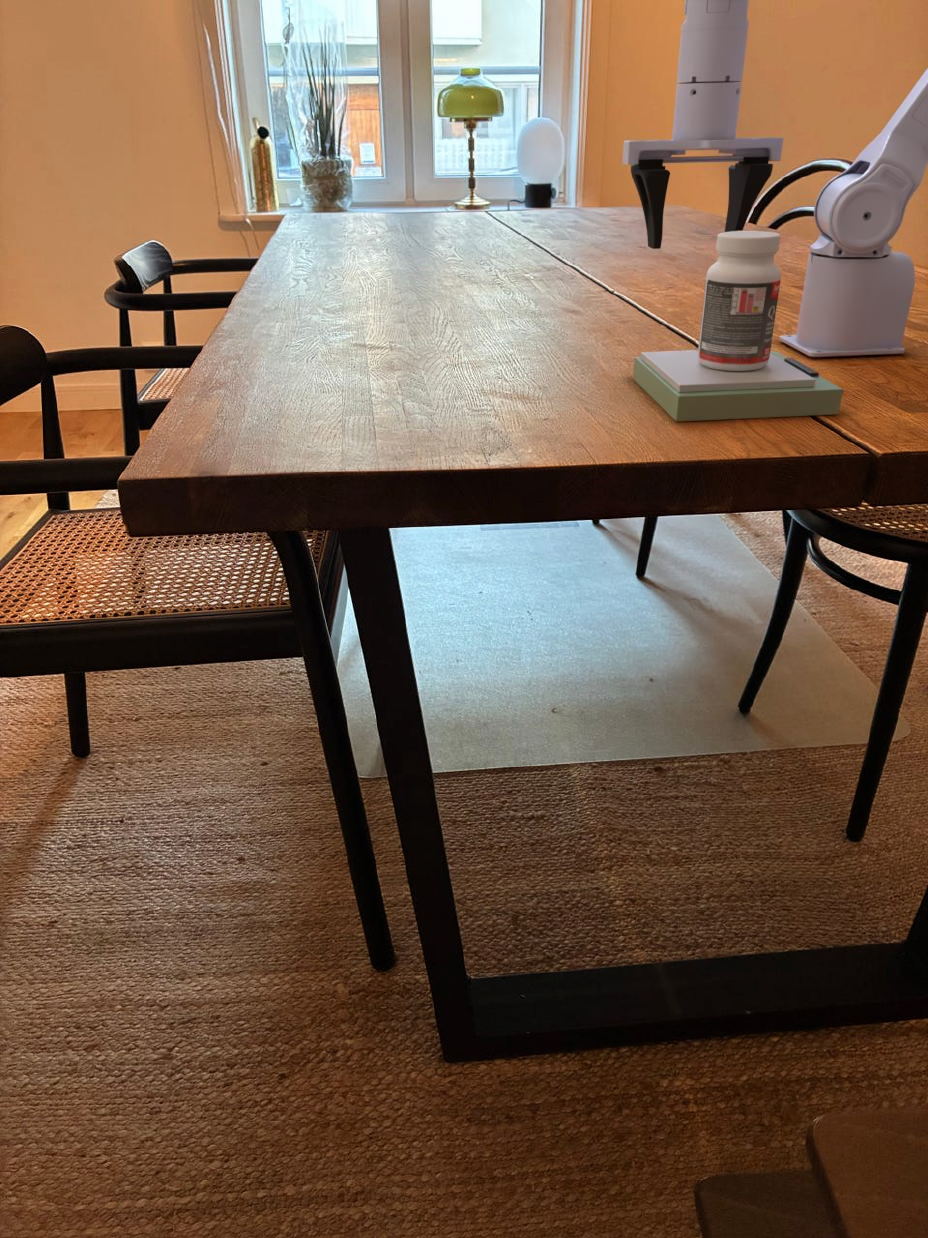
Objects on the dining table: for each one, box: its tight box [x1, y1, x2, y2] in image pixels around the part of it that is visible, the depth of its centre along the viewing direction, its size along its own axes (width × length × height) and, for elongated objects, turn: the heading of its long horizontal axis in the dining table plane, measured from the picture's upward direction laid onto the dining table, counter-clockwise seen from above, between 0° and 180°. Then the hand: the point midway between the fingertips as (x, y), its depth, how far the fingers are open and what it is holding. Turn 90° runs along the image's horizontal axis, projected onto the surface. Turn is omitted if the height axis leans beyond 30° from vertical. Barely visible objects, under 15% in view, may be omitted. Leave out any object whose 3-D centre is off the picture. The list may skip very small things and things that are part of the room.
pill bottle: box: [697, 230, 782, 371], centre depth 71 cm, size 6×6×10 cm
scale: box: [632, 349, 844, 423], centre depth 74 cm, size 13×13×3 cm
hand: (692, 246), depth 87 cm, fingers open, 7 cm apart
